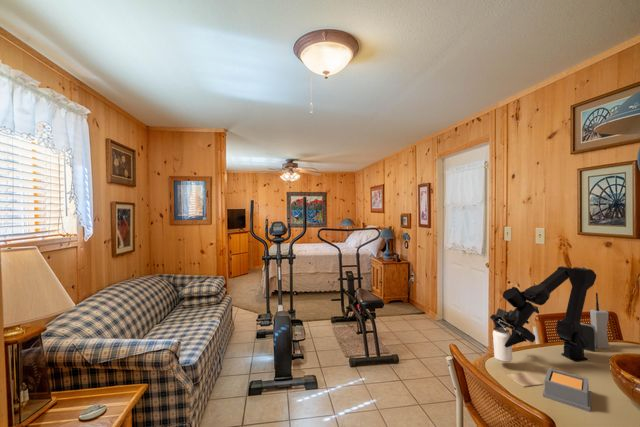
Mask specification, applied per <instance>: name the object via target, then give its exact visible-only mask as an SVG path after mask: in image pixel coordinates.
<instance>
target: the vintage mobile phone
mask: <svg viewBox="0 0 640 427" xmlns="http://www.w3.org/2000/svg"><path fill="white" fill-rule="evenodd" d="M598 295H599V294H598V293H597V292H596V293H595V300H596V302H595V307H596V308H595V309H590V310H589V314H590V325H593V326H594V327H595V332H596V337H595V348H598V349H611V345H610V343H609V340H608V324H609V311H606V310H605V309H600V307H599V306H600V305H599V296H598Z"/></svg>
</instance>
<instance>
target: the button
mask: <svg viewBox="0 0 640 427" xmlns="http://www.w3.org/2000/svg"><path fill="white" fill-rule="evenodd" d="M551 381H553V382H556V383H559V384H563V385H566V386H570V387H573V388H577V389H580V390H583V380H580V379H576V378H572V377H569V376H565V375H562V374H558V373H554V372H553V374H552V377H551Z"/></svg>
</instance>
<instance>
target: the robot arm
mask: <svg viewBox="0 0 640 427" xmlns="http://www.w3.org/2000/svg"><path fill="white" fill-rule="evenodd" d="M596 279H597V274H596V273H595V270H593V269H591V268H584V267H578V266H577V267H576V266H574V267H569V266H563V265H561V266H558V267H557V269H556V270H555V271H553V273H552V274H550V275H549V276H547V277H546V278H545V279H544V280H543V281H541V282H540V283H538V284H535V285H532V286H530V287H528V288H526V289H525V290H522V291H520V289H519V288H518V287H516V286H511V288H508V289H506V290H504V291H503V292H502V298H503V299H504V300H505V301H507V303H508V304H509V305H510V306H512V307H513V309H510V310H508V311H507V310H504V309H501V308H497V309H496V310H497V311H496V314H491V316H489V319H490V320H491V321H492V323H494V328H497V327H500V328H506V329H509V330H511V333H510V334H511V336H510V337H509V339H508V340H507V342H506V344H505V347H510V346H512V347H513V346H515V345H517V344H520V343H523V342H526V343H527V342H530V343H532V344H533V343H534V342H535V341H536V335H535V334H534V333H532V331H531V330H529V329H528V328H527V327H524V326H525V324H526V325H528V324H530V321H529V319H530V318H531V316H532V315H533V314H534V313H535V314H538V315H539V314H540V311H539V307H538V306H543V305H545V304H546V303H547V302H548V301H549V300H550V296H551V293H552V292H553V291H555V290H556V289H557V288H558V287H560V286H561V285H562V284H564V283H565V282H566V281H567V280H569V282H570V285H571V290H570V293H569V297H568V298H569V299H568V303H567V307H566V311H565V316H564V318H562V319H561V320H560V319H558V320H557V321H556V326H555V330H556V332H555V333H556V335H558V338H559V340H560V341H563V352H562V353H561V354H560V355H561V356H563V357H565V358H566V359H570V360H572V361H573V362H582V361H585V362H586V361H589V358H587V357H585V349H584V348H586V347H588V346H589V341H588V340H587V339H586V338H585V337H584V336H583V329H582V326H581V324H580V323H581V320H582V314H583V310H584V306H585V300H586V296H587V293H588V290H589V289H590V288H592V287H593V286H594V284H595V282H596ZM533 304H535V305H533ZM536 305H537V306H536Z"/></svg>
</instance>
